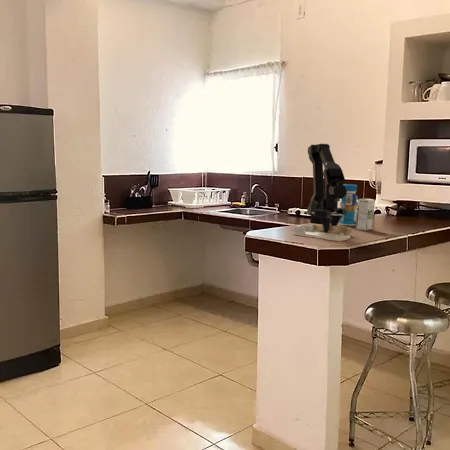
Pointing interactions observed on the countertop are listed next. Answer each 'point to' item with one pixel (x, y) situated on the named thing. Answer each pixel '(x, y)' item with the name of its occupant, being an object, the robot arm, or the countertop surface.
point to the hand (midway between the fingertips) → (329, 231)
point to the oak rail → (333, 229)
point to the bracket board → (317, 233)
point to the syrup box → (365, 214)
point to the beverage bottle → (349, 206)
